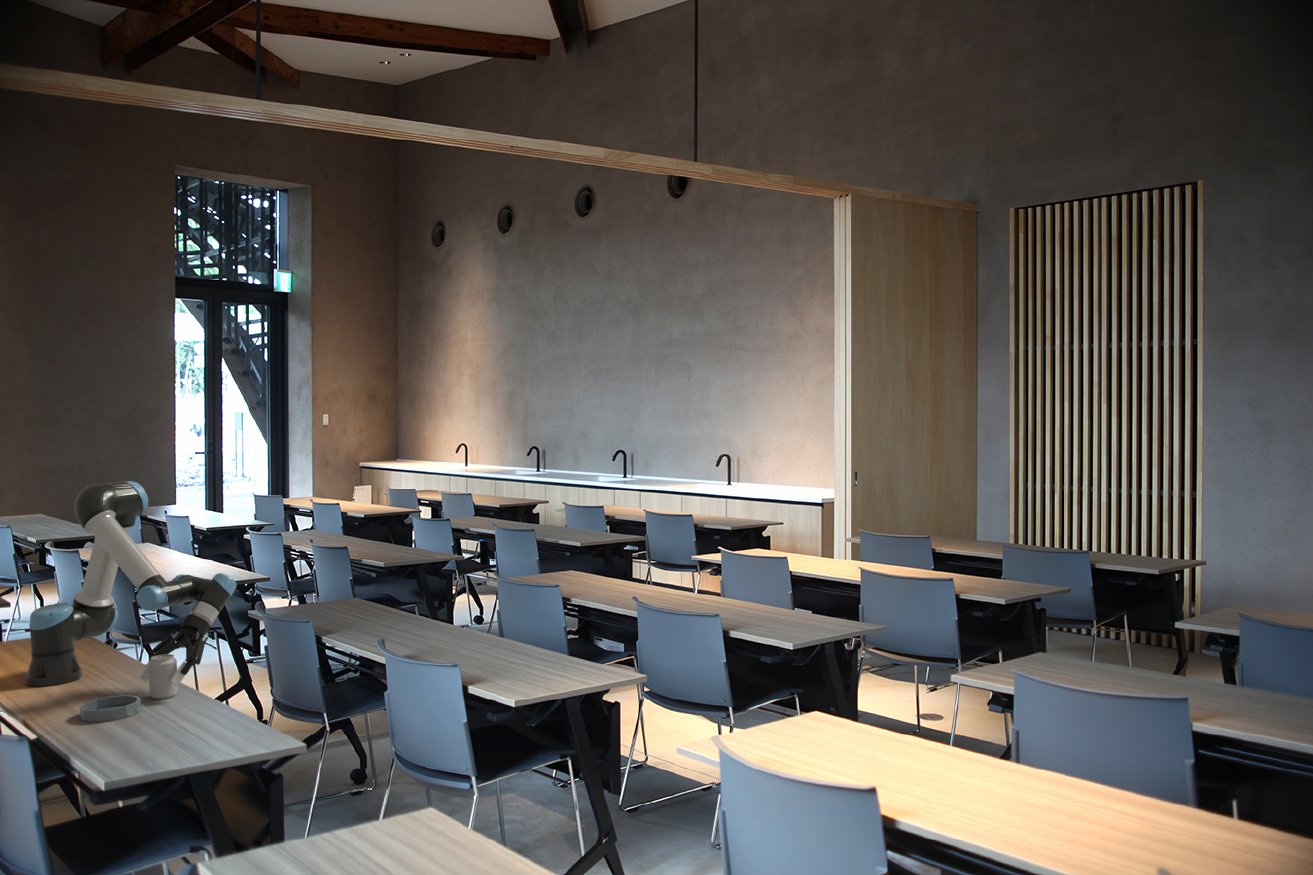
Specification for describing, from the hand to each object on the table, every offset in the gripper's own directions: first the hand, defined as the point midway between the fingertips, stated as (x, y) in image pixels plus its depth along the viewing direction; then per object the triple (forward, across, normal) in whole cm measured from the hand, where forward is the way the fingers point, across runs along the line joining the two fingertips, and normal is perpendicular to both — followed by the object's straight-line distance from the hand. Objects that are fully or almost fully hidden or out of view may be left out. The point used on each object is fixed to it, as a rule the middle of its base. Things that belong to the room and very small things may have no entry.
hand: (158, 681), depth 290 cm
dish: (+14, -1, +8) cm, 16 cm away
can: (+2, 0, -5) cm, 6 cm away
